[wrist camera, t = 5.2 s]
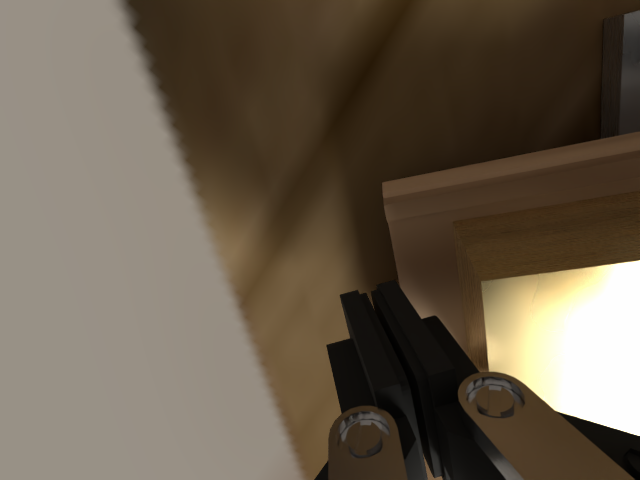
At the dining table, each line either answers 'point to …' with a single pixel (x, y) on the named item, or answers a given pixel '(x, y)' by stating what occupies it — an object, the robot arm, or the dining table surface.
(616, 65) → the stand
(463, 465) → the robot arm
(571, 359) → the block
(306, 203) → the dining table surface
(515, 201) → the beam
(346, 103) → the dining table surface
